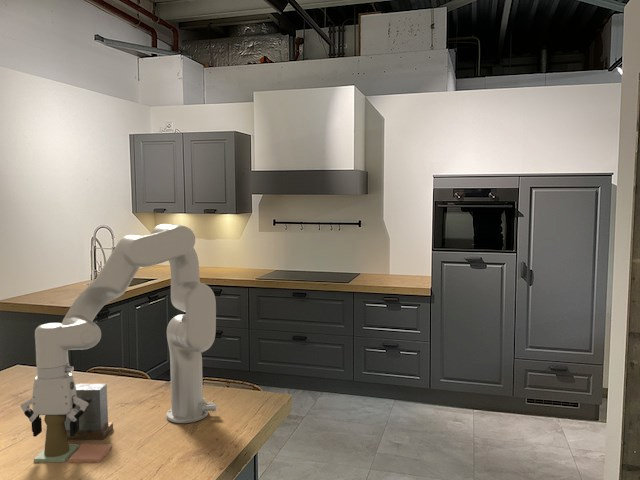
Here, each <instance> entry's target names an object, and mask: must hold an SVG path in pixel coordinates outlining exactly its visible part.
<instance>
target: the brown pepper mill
mask: <svg viewBox="0 0 640 480" xmlns="http://www.w3.org/2000/svg"><path fill="white" fill-rule="evenodd" d="M43 420H44V423H45V425H46V433H45V442H44V449H45V450H44V449H43V450H44V455H45V456H47V457H57V456H61V455H63V454H65V453H67V452H68V451H69V445H70V444H69V440H68V439H67V433H66V428H65V423H64V422H65V420H66V415H44V418H43Z"/></svg>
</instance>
